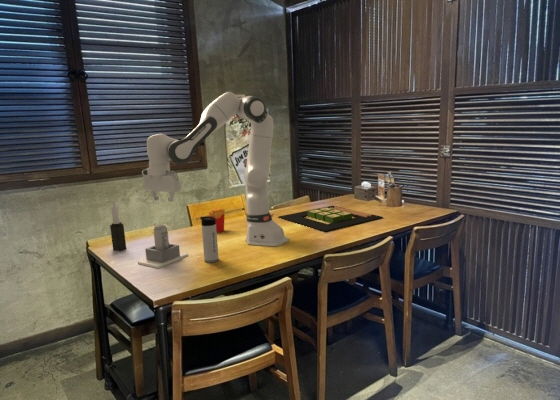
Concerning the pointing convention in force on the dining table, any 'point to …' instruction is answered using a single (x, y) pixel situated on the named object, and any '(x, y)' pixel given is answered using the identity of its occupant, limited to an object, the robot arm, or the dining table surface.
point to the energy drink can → (161, 237)
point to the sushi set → (330, 218)
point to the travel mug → (209, 239)
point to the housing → (162, 256)
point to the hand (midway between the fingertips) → (163, 200)
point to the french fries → (218, 218)
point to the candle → (117, 230)
